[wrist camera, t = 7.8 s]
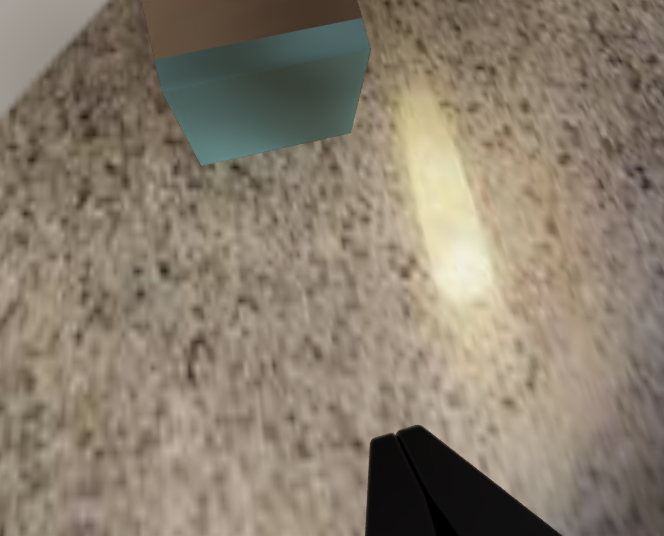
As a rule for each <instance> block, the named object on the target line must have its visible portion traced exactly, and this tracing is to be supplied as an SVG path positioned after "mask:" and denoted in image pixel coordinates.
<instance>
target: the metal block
mask: <svg viewBox="0 0 664 536" xmlns="http://www.w3.org/2000/svg"><path fill="white" fill-rule="evenodd" d="M141 2H142V6H143V11H144V15H145V20H146V24H147V29H148V33H149V37H150V42H151V46H152V51H153V55H154V59H155V64H156V68H157V73H158V77H159V81H160V86H161V90H162V93H163V95H164V97H165V99H166V101H167V103H168V105H169V106H170V108H171V110H172V112H173V114H174V116H175V118H176V119H177V121H178V123H179V125H180V127H181V129H182V131H183V132H184V134H185V136H186V138H187V140H188V142H189V144H190V145H191V147H192V149H193V151H194V153H195V155H196V157H197V158H198V160H199V162H200V164H201V166H203V165H208V164H212V163H217V162H221V161H226V160H230V159H235V158H240V157H244V156H249V155H253V154H258V153H262V152H267V151H271V150H276V149H280V148H285V147H289V146H294V145H298V144H303V143H307V142H312V141H317V140H321V139H326V138H330V137H335V136H339V135H344V134H348V133H351V129H352V125H353V121H354V117H355V113H356V109H357V105H358V100H359V96H360V92H361V88H362V84H363V80H364V76H365V72H366V68H367V63H368V59H369V55H370V51H371V48H370V44H369V41H368V37H367V34H366V30H365V27H364V23H363V20H362V16H361V13H360V9H359V6H358V2H357V0H141Z"/></svg>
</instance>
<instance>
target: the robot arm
mask: <svg viewBox="0 0 664 536" xmlns="http://www.w3.org/2000/svg"><path fill="white" fill-rule="evenodd" d="M365 536H562V535H561V534H560V533H558V532H557V531H556V530H554V529H553V528H552V527H551V526H549V525H548V524H547V523H545V522H544V521H543V520H542V519H540V518H539V517H538V516H537V515H535V514H534V513H533V512H531V511H530V510H529V509H528V508H526V507H525V506H524V505H523V504H521V503H520V502H519V501H517V500H516V499H515V498H514V497H512V496H511V495H510V494H508V493H507V492H506V491H505V490H503V489H502V488H501V487H500V486H498V485H497V484H496V483H494V482H493V481H492V480H491V479H489V478H488V477H487V476H485V475H484V474H483V473H482V472H480V471H479V470H478V469H477V468H475V467H474V466H473V465H471V464H470V463H469V462H468V461H466V460H465V459H464V458H462V457H461V456H460V455H459V454H457V453H456V452H455V451H454V450H452V449H451V448H450V447H448V446H447V445H446V444H445V443H443V442H442V441H441V440H439V439H438V438H437V437H436V436H434V435H433V434H432V433H431V432H429V431H428V430H427V429H425V428H424V427H423V426H421V425H414V426H411V427H408V428H405V429H402V430H399V431H398V432H397V433H396V435H395V434H394V433H389V434H386V435H382V436H379V437H376V438H373V439H372V440H371V442H370V452H369V471H368V490H367V509H366V527H365Z"/></svg>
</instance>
